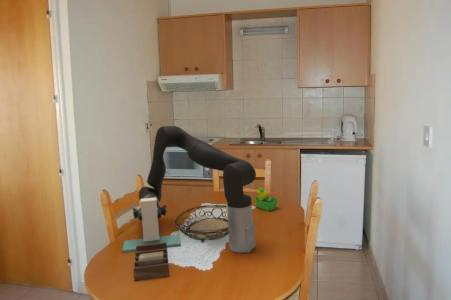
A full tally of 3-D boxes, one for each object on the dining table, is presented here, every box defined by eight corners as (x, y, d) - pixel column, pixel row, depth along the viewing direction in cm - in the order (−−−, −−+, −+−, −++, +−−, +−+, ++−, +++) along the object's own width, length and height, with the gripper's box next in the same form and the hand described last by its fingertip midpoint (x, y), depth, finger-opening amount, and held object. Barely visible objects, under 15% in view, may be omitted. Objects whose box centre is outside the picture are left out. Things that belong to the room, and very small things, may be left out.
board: (124, 245, 152) (124, 240, 152) (179, 238, 156) (179, 234, 156) (122, 255, 142) (122, 250, 142) (181, 248, 146) (180, 243, 146)
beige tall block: (143, 237, 150) (140, 198, 148) (159, 235, 151) (156, 197, 149) (143, 241, 146) (140, 201, 144) (159, 239, 147) (156, 200, 145)
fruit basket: (279, 209, 189) (278, 187, 187) (266, 213, 184) (265, 190, 182) (264, 204, 198) (264, 183, 197) (251, 207, 194) (250, 186, 192)
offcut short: (140, 263, 132) (139, 254, 132) (163, 260, 134) (162, 251, 133) (140, 266, 130) (139, 257, 129) (163, 263, 131) (163, 254, 131)
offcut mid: (140, 268, 128) (139, 256, 128) (164, 265, 130) (163, 253, 129) (140, 272, 126) (138, 259, 125) (164, 268, 127) (163, 256, 127)
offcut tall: (139, 274, 124) (138, 258, 123) (164, 271, 126) (163, 255, 125) (139, 277, 122) (138, 261, 121) (164, 274, 123) (163, 258, 123)
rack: (137, 258, 139) (136, 245, 138) (167, 254, 141) (166, 242, 140) (134, 283, 120) (133, 268, 120) (169, 278, 122) (168, 264, 122)
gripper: (132, 198, 159) (129, 210, 143) (166, 195, 162) (167, 206, 146) (133, 215, 161) (131, 228, 144) (167, 211, 163) (169, 224, 147)
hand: (149, 217), depth 145 cm, fingers closed on beige tall block, 6 cm apart
